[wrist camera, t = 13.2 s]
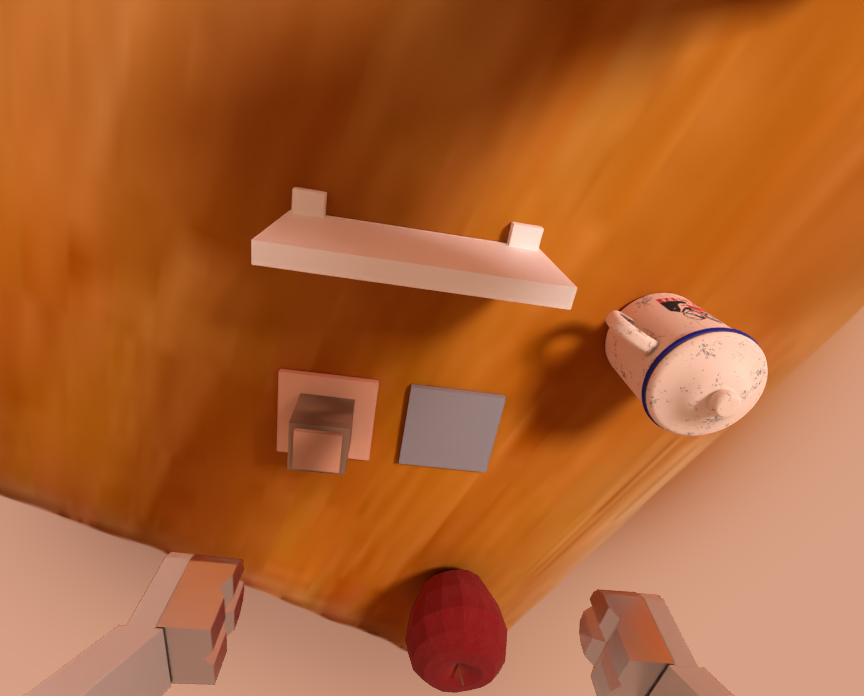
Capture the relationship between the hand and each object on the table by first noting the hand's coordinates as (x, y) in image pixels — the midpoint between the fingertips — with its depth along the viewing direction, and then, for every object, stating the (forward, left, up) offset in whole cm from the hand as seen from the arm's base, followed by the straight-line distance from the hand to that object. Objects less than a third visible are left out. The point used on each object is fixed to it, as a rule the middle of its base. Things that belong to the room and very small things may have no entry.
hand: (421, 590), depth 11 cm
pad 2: (-6, +17, -31) cm, 35 cm away
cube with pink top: (+6, +17, -30) cm, 35 cm away
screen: (0, -1, -31) cm, 31 cm away
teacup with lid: (-21, +4, -31) cm, 37 cm away
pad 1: (+6, +17, -31) cm, 35 cm away
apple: (-10, +39, -31) cm, 50 cm away
